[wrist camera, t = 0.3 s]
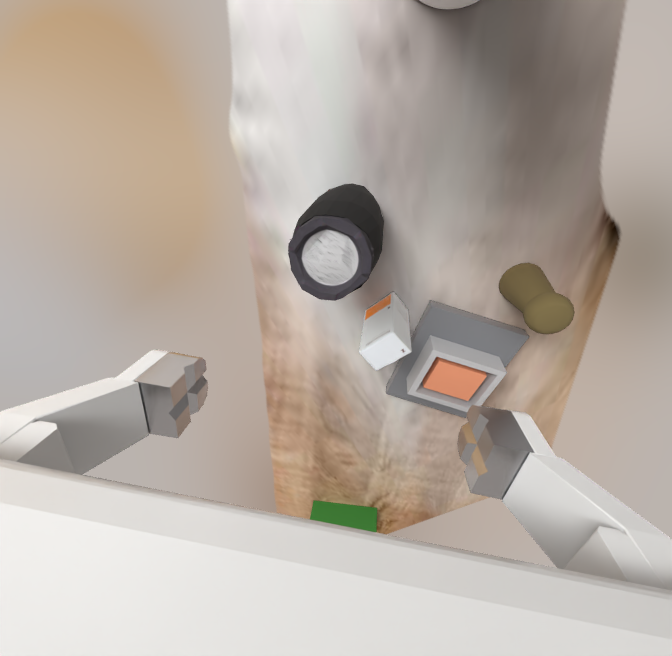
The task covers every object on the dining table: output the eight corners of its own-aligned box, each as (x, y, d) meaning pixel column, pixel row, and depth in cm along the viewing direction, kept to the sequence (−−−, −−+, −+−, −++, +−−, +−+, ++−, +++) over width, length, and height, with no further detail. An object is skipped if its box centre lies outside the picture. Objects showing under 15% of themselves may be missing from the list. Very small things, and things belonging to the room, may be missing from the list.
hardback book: (315, 514, 91) (295, 622, 71) (313, 500, 87) (291, 611, 67) (376, 521, 88) (372, 636, 68) (377, 508, 84) (373, 625, 64)
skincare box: (393, 289, 49) (394, 330, 39) (408, 308, 51) (413, 352, 41) (363, 310, 52) (357, 353, 42) (379, 327, 53) (376, 372, 44)
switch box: (430, 300, 49) (435, 319, 44) (524, 329, 50) (539, 352, 45) (386, 386, 60) (385, 409, 55) (463, 410, 61) (470, 435, 56)
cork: (550, 288, 46) (590, 328, 37) (507, 307, 48) (535, 349, 39) (536, 255, 43) (575, 288, 34) (492, 276, 46) (518, 313, 37)
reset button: (437, 353, 50) (439, 361, 49) (483, 367, 51) (487, 376, 49) (422, 379, 54) (423, 387, 52) (465, 392, 54) (468, 401, 52)
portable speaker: (312, 187, 43) (266, 221, 26) (380, 174, 41) (375, 202, 24) (325, 247, 47) (292, 309, 31) (387, 238, 45) (386, 299, 29)
